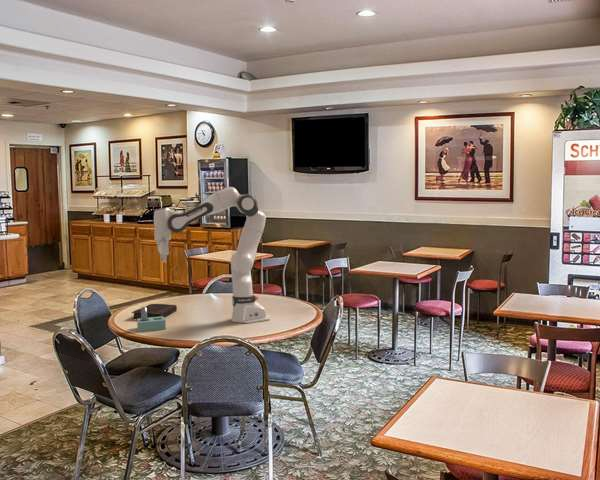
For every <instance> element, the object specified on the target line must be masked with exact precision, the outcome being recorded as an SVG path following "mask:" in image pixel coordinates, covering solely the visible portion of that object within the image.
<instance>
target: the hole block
mask: <svg viewBox="0 0 600 480" xmlns="http://www.w3.org/2000/svg"><path fill="white" fill-rule="evenodd" d="M136 323H137V330H138V332H139V333H141V332H142V331H144V332H151V331H161V329H163V330H167V329H166V328H167V327H166V324H167V323H166V319H165V318H164V317H163V316H161V317H150V318H147V321H142V319H141V318H140V319H137V320H136ZM142 333H143V332H142Z"/></svg>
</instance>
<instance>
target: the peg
mask: <svg viewBox="0 0 600 480" xmlns="http://www.w3.org/2000/svg"><path fill="white" fill-rule="evenodd" d="M140 309H141V319H142V321H147V307H145V306H142V307H140Z"/></svg>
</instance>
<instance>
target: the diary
mask: <svg viewBox="0 0 600 480" xmlns="http://www.w3.org/2000/svg"><path fill="white" fill-rule="evenodd" d="M144 307H147V318H150V317H161V316H163V317H164V319H165V318H168V317H169V316H170V315H172V314H173V313H176V312H177V311H178V309H177V308H178V306H177V304H167V303H150V304H148V305H145V306H144ZM130 313H131V314H133V319H140V318H141V308H138V309H136V310H134V311H132V312H130Z"/></svg>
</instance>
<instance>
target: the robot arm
mask: <svg viewBox="0 0 600 480" xmlns="http://www.w3.org/2000/svg"><path fill="white" fill-rule="evenodd" d="M232 207H235V208H236V209H237V210H238V211H239V212H240V213H241V214H243V215H245V216H246V218H245V219H246V220H245V222H244V225H243V228H242V231H241V234H240V237H239V239H238V240H239V241H238V245H237V249H236V251H235V252H234V253H233V254H232V255H231V257H230V270H231V272H230V273H231V281H232V298H231V301H232V302H231V304H232V312H231V317H230V321H232V322H233V323H241V324H242V323H244V324H251V323H259V322H263V321H270V320H271V316H270V315H269V314H267V310H266V308H265V306H263V305H262V304H261V303H259V302H258V300H259V297H258V296H257V295H254V294H253V279H252V272H251V270H252V269H253V266H254V262H255V259H256V255H257V252H258V251H257V250H258V246H259V244H260V241H261V238H262V235H263V233H264V229H265V226H266V219H267V217H266V214H265V213H264V212H262V211H261V210H259V206H258V201H257V199H256V198H255V196H254V195H252V194H248V193H246V194H240V193H239V191H238V190H237V189H236V188H235V187H233V186H228V187H225V188H222V189H220V190H217V191H216V192H214V193H212V194H211V195H209V196H207V197H206V198H205V199H204V200H203V201H202V202H201V203H200V204H199V205H197V206H196V207H194V208H192V209H189V210H188V211H186V212H183V213H179V212H176V211H175V210H172V209H170V208H169V207H161V208H157V209H156V210H155V211H154V213H153V226H154V231H153V232H154V233H153V234H154V235H153V237H154V241H156V246H157V251H158V253H159V255H160V261H162V263H164V264H167V258H168V256H169V254H170V252H169V241H171V240H172V233H171V232H173V233H176V234H177V233H182V232H183V231H184V230H185V229H186V228H187V227H188V226H189V225H190V224H191V223H193V222H195V221H197V220H199V219H201V218H203V217H206V216H210V215H215V214H218V213H221V212H223V211H225V210H228V209H229V208H232Z"/></svg>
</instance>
